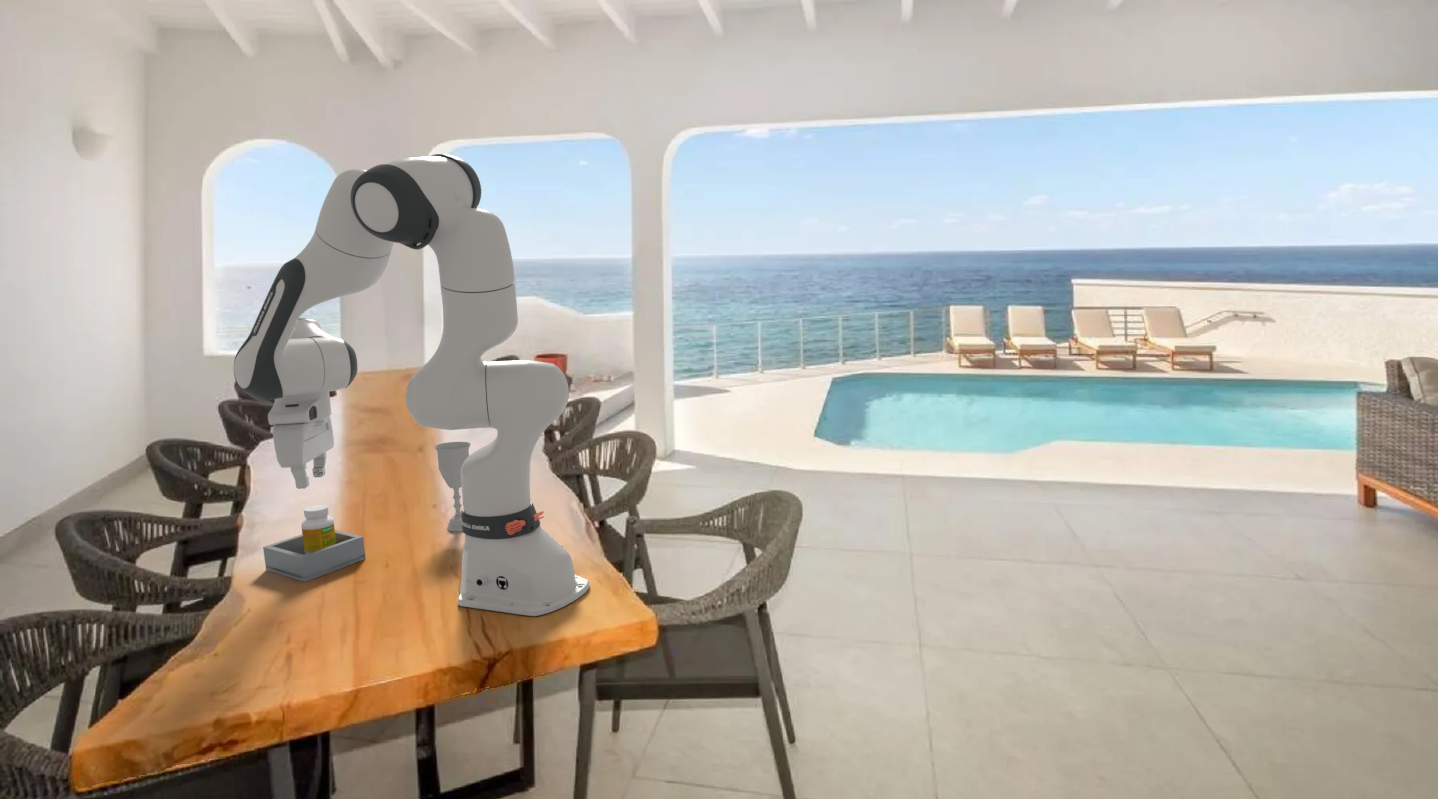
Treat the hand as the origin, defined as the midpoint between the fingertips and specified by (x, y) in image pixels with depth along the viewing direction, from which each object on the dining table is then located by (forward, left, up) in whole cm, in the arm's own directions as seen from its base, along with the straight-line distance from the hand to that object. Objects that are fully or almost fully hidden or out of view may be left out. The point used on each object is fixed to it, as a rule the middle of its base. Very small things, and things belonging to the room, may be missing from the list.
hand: (311, 482), depth 139 cm
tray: (0, +1, -16) cm, 16 cm away
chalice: (-8, -26, -16) cm, 32 cm away
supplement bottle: (+1, -1, -15) cm, 15 cm away
